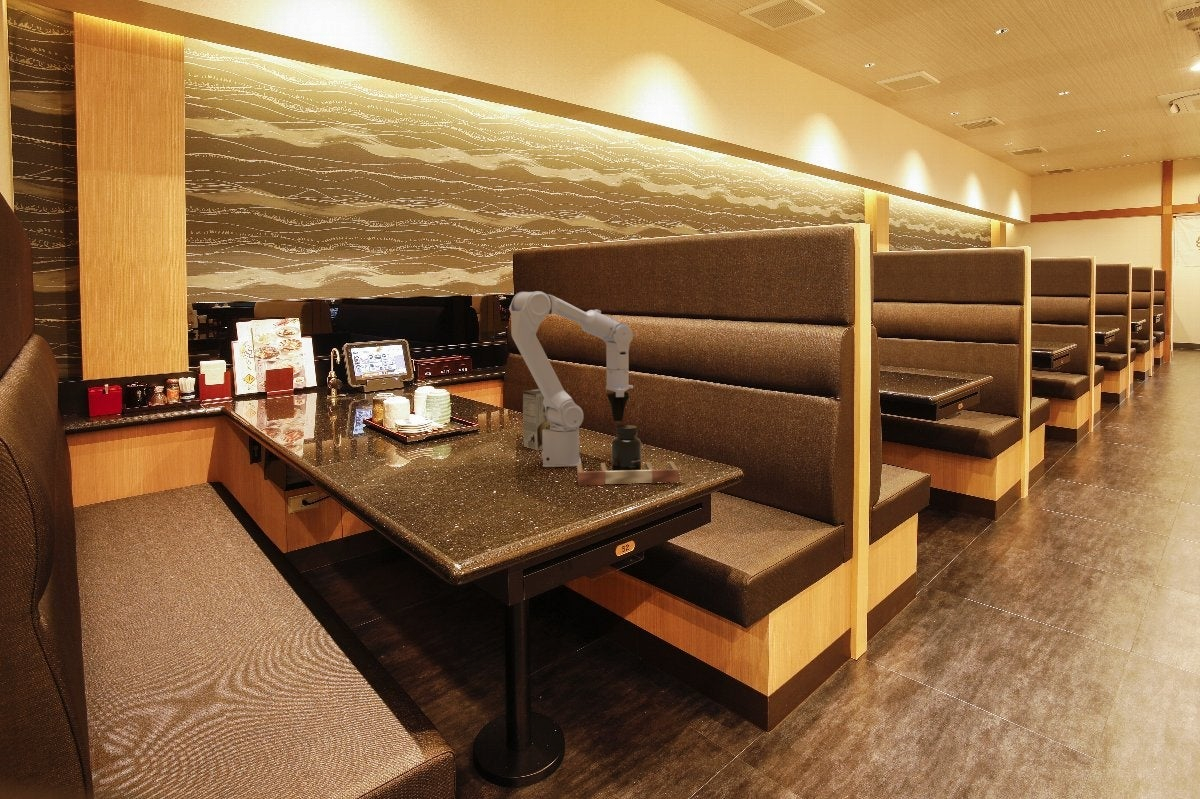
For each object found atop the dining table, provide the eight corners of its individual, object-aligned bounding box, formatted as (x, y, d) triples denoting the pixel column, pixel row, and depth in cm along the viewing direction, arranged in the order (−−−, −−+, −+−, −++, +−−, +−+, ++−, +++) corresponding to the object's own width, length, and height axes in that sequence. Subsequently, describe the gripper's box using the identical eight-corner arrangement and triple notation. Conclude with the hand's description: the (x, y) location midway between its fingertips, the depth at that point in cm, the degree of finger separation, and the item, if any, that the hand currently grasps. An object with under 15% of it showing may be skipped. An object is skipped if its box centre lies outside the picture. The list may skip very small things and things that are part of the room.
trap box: (578, 485, 154) (578, 472, 153) (577, 475, 162) (577, 463, 162) (678, 483, 155) (678, 470, 155) (672, 473, 163) (672, 461, 163)
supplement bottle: (639, 482, 156) (639, 429, 155) (609, 480, 158) (609, 429, 156) (642, 474, 163) (642, 424, 161) (614, 473, 164) (613, 423, 162)
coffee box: (547, 442, 199) (546, 387, 197) (562, 446, 195) (561, 389, 192) (522, 448, 193) (521, 390, 190) (537, 451, 188) (536, 392, 186)
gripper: (636, 371, 172) (636, 425, 174) (630, 365, 186) (630, 415, 188) (607, 372, 171) (608, 426, 173) (603, 366, 186) (604, 416, 188)
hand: (617, 420), depth 181 cm, fingers closed
